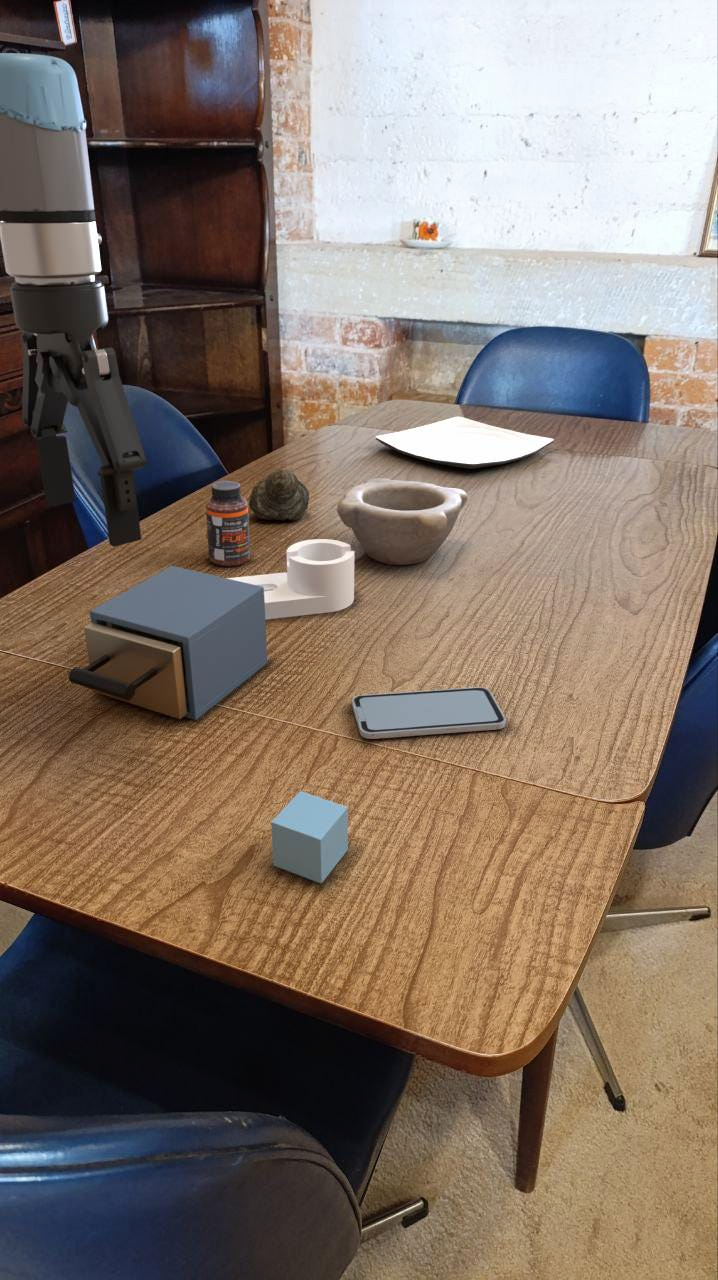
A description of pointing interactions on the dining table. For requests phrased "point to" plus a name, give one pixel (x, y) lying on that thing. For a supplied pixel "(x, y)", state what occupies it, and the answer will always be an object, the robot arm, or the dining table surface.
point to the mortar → (401, 518)
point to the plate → (464, 443)
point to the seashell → (279, 497)
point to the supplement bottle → (227, 525)
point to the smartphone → (427, 712)
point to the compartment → (198, 628)
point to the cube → (310, 836)
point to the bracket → (309, 580)
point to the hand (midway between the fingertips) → (91, 522)
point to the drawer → (134, 668)
